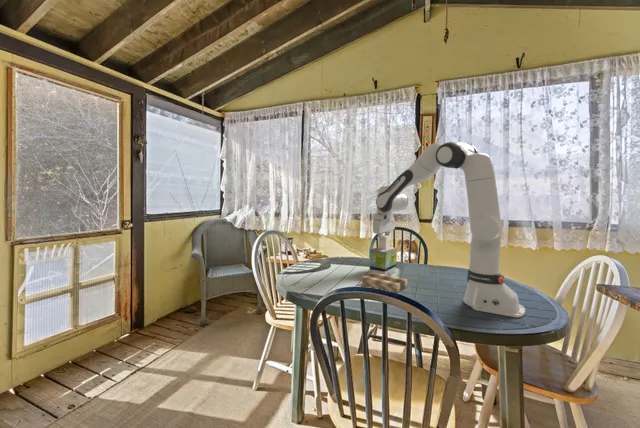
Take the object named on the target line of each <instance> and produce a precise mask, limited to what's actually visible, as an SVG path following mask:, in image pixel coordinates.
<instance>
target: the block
mask: <svg viewBox="0 0 640 428" xmlns="http://www.w3.org/2000/svg"><path fill="white" fill-rule="evenodd" d="M382 238H383V240H382V241H379V240H378V247H379V248H380V249H389V247H391V246H390V243H391V240H390V239H391V236H386V235H385V234H384V235H383V234H382Z"/></svg>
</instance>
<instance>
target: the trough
mask: <svg viewBox="0 0 640 428" xmlns="http://www.w3.org/2000/svg"><path fill="white" fill-rule="evenodd" d="M361 285H362V286H365V285H366V286H365V287H369V288H370V287H371V288H373V287H374V289H377V288H379V290H381V289H384V290H383V291H386V290H388V291H387V292H390V291H392V292H391V293H394V292H395V294H398V293H400V292H402V291H403V290H405V289H406V288H407V287H408V279H407V278H403V277H399V276H396V275H395V276H394V275H385V274H380V273H376V272H372V273H371V274H370V276H369V275H364V276H361Z"/></svg>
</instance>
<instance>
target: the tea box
mask: <svg viewBox="0 0 640 428" xmlns="http://www.w3.org/2000/svg"><path fill="white" fill-rule="evenodd" d="M397 253H398V248H397V247H393V246H390V247H389V249H380V248H379V246H377V247H374V248H371V249H370V253H369V254H370V255H369V273H368V274H369V275H370V274H371V273H372V272H376V273H380V274H385V275H390V276H392V275H393V274H394V273H396V272H397V256H398V254H397ZM369 275H368V276H369Z"/></svg>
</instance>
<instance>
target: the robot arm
mask: <svg viewBox="0 0 640 428" xmlns="http://www.w3.org/2000/svg"><path fill="white" fill-rule="evenodd" d="M442 167H444V168H447V169H457V170H458V169H461V170H462V171H463V175H464V180H465V187H466V189H465V190H466V195H467V205H468V206H467V207H468V208H467V209H468V219H469V229H470V233H471V240H470V249H469V263H468V269H467V273H466V274H467V275H466V282H467V286H466V290H465V294H464V296H463V298H462V302H463V303H464V304H466V305H467V306H469V307H471V308H472V309H473V310H474V311H478V312H484V313H489V314H494V315H500V316H506V317H512V318H517V319H518V318H522V317H523V316H524V315H525V314H526V308H525V307H524V306H523V304H520V301H519V297H518V294H517V292H515V291H514V290H513V289H511V288H510V287H509V286H508V285H506V284H505V275H504V274H501V273H500V259H501V246H502V245H501V244H502V242H501V241H502V230H503V229H502V228H503V223H502V219H501V212H500V204H499V195H498V188H497V180H496V173H495V169H494V168H495V167H494V165H493V162H492V160H491V157H490V156H489V155H488V154H487V153H485V152H484V153H483V152H479V151H478V149H477V148H476V146H474V145H473V144H470V143H465V142H460V141H456V142H455V141H454V142H453V141H449V142H445V143H443V144H442V143H438V142H433V143H431V144H430V145H429V146H428V147H427V148H426V149H424V151H422V153H420V155H419V156H418V157H417V159H416V160H415V161H414V162H413V163H412V164H411V165H410V166H409V167H408V168H406V170H404V171H403V172H401V174H399V175H398V176H397V177H396V179H394V181H393V182H392V183H391V184H390V185H388V186H381V187H379V189H378V191H377V196H376V200H375V205H376V207H377V208H376V211H375V213H374V214H372V220H373V221H372V233H373V234H377V237H378V242H379V241H382V240H383V238H382V235H383V234H384V233H386V236H390V235H391V232H392V231H395V229H396V224H395V222H396V221H395V217H394V212H397V211H403V210H405V209H407V207H408V204H409V197H408V196H407V194H405V193H403V191H404V190H405V189H407V188H408V187H410V186H412V185H416V184H421V183H425V182H428V181H429V180H430V179H431V178H433V177H434V176H435V175H436V174H437V172H438V171H439V170H440V169H441V168H442ZM390 237H391V236H390Z"/></svg>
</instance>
